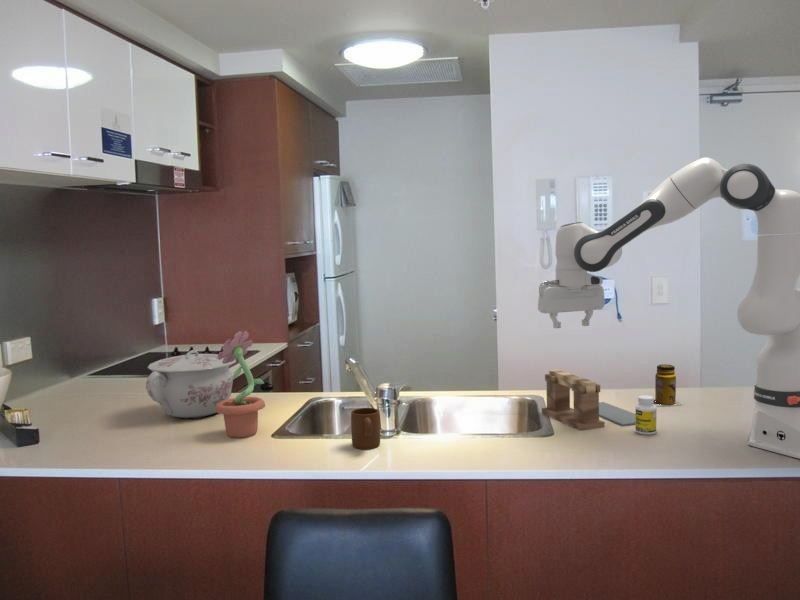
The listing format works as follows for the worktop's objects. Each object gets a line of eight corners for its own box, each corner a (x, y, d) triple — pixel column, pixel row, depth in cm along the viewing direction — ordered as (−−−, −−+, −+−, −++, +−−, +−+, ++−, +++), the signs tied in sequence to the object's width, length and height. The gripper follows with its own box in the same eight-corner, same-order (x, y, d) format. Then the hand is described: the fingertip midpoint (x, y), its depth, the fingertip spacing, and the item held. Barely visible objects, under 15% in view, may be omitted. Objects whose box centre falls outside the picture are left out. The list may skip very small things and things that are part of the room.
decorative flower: (246, 424, 216) (240, 326, 213) (279, 430, 208) (274, 328, 205) (206, 437, 203) (200, 332, 200) (240, 444, 195) (234, 335, 192)
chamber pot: (234, 399, 248) (231, 340, 246) (243, 418, 222) (240, 353, 220) (149, 408, 240) (145, 347, 238) (148, 429, 214) (143, 361, 212)
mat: (652, 422, 204) (652, 420, 204) (622, 426, 201) (622, 424, 201) (603, 403, 227) (603, 401, 227) (575, 407, 224) (575, 405, 224)
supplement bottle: (632, 432, 195) (632, 397, 194) (640, 428, 199) (640, 393, 198) (651, 436, 191) (651, 400, 190) (659, 431, 195) (659, 396, 194)
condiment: (681, 405, 223) (681, 367, 222) (655, 406, 222) (655, 368, 220) (669, 399, 230) (669, 362, 229) (644, 401, 229) (644, 364, 228)
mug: (384, 453, 183) (383, 418, 182) (354, 456, 182) (353, 420, 181) (378, 440, 195) (377, 406, 194) (350, 442, 194) (349, 408, 193)
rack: (604, 427, 201) (604, 385, 200) (579, 430, 199) (579, 387, 197) (564, 409, 221) (564, 371, 220) (541, 412, 218) (541, 374, 217)
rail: (595, 392, 200) (595, 382, 200) (586, 393, 199) (586, 383, 199) (558, 379, 219) (557, 369, 218) (549, 380, 218) (549, 370, 217)
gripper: (544, 281, 200) (545, 330, 201) (607, 278, 206) (607, 325, 207) (533, 280, 205) (534, 328, 207) (595, 276, 212) (595, 323, 213)
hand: (571, 326), depth 207 cm, fingers open, 8 cm apart
